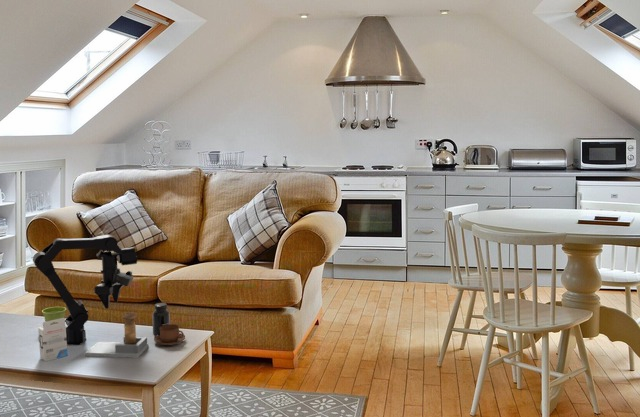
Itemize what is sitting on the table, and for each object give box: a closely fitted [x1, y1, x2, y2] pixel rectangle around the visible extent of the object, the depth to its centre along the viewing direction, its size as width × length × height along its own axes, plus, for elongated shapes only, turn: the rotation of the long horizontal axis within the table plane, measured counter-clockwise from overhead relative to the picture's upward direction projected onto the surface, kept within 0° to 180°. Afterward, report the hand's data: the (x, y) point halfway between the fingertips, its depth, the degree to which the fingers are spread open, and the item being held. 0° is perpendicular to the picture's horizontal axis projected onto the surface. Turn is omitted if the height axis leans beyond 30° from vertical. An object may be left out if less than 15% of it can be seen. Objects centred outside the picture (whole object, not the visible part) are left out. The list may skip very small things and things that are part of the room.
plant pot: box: [41, 306, 67, 325], centre depth 282 cm, size 9×9×9 cm
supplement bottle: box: [152, 302, 171, 336], centre depth 278 cm, size 7×7×12 cm
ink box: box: [37, 317, 68, 362], centre depth 251 cm, size 8×5×15 cm, turn 133°
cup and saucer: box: [153, 323, 186, 346], centre depth 268 cm, size 12×12×6 cm
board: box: [84, 336, 150, 358], centre depth 258 cm, size 20×12×4 cm, turn 85°
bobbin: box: [122, 312, 137, 345], centre depth 257 cm, size 5×5×13 cm
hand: (111, 305), depth 273 cm, fingers open, 9 cm apart
